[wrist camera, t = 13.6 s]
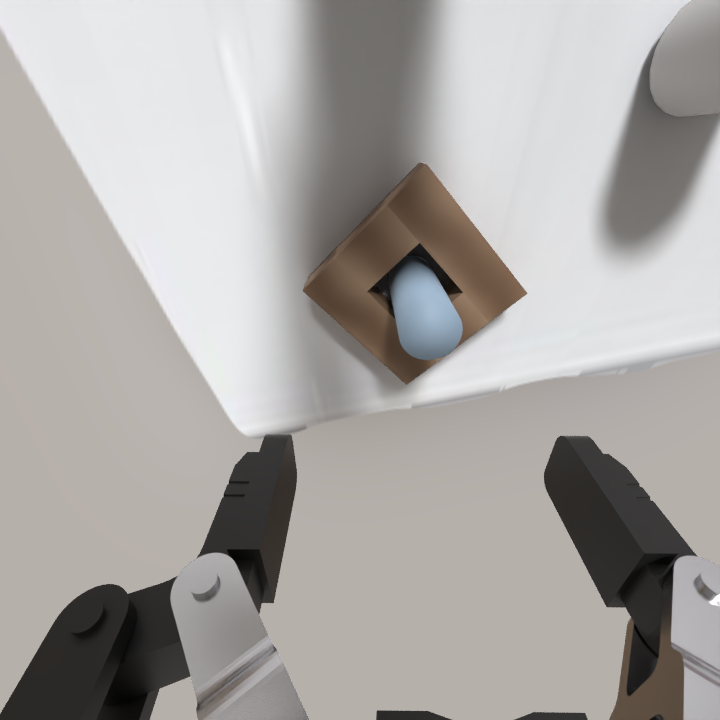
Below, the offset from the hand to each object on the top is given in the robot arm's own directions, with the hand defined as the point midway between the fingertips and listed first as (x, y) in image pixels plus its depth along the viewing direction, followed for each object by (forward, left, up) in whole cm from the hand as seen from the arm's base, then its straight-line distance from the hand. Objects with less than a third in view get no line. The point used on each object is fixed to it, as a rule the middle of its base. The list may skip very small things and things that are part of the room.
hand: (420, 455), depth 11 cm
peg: (0, +4, -27) cm, 27 cm away
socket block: (0, +4, -27) cm, 27 cm away
